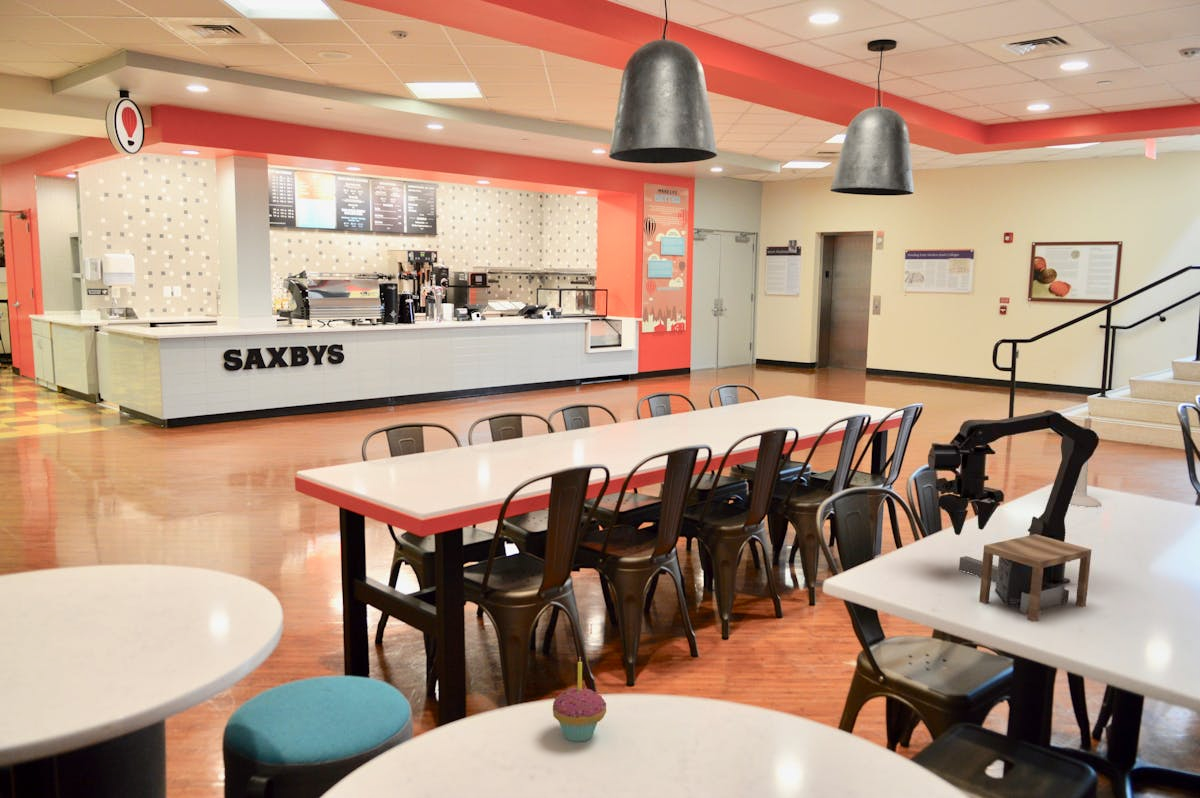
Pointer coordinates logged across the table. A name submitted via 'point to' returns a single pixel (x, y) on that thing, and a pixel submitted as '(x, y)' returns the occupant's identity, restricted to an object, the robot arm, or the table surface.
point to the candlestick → (1084, 484)
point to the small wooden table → (1036, 565)
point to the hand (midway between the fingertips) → (969, 531)
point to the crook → (1049, 593)
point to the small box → (1012, 581)
